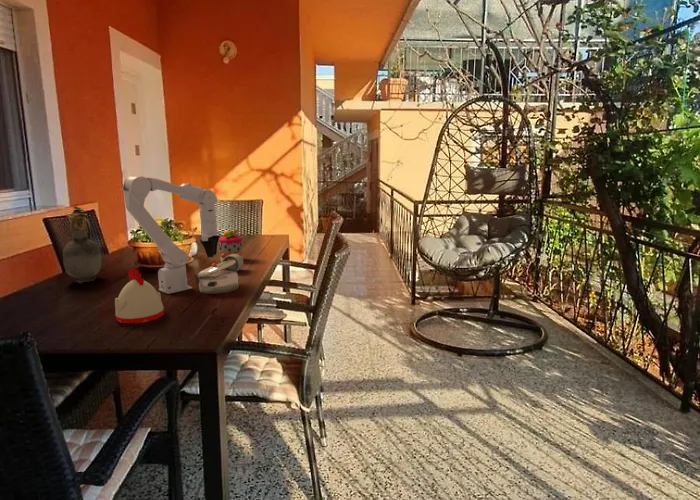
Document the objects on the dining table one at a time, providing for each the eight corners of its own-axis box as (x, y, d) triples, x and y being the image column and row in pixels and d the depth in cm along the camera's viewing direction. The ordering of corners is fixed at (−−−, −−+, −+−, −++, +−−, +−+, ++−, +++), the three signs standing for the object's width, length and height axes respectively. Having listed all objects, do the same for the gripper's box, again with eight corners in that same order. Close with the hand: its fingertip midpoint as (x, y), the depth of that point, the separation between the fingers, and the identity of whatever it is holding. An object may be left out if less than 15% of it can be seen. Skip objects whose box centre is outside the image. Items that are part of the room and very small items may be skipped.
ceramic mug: (245, 269, 209) (243, 251, 207) (239, 274, 201) (238, 255, 199) (221, 269, 210) (219, 252, 208) (214, 274, 202) (213, 256, 200)
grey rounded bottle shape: (63, 286, 186) (52, 209, 180) (81, 274, 205) (71, 204, 199) (93, 285, 188) (83, 208, 182) (108, 273, 206) (100, 203, 200)
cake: (215, 262, 223) (213, 230, 220) (227, 257, 233) (225, 227, 230) (235, 263, 220) (233, 231, 217) (247, 258, 230) (245, 227, 227)
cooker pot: (189, 296, 170) (188, 282, 169) (205, 281, 190) (204, 269, 189) (231, 295, 170) (230, 282, 169) (243, 280, 190) (242, 268, 189)
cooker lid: (191, 281, 172) (188, 275, 171) (203, 271, 186) (201, 266, 186) (230, 267, 171) (228, 262, 171) (239, 258, 185) (237, 253, 185)
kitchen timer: (150, 306, 160) (145, 262, 157) (172, 314, 152) (168, 268, 149) (107, 317, 150) (101, 270, 147) (129, 327, 141) (123, 277, 138)
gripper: (213, 223, 177) (217, 259, 180) (223, 217, 191) (226, 251, 194) (194, 224, 177) (198, 260, 180) (205, 218, 191) (209, 252, 194)
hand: (211, 255), depth 187 cm, fingers open, 3 cm apart
